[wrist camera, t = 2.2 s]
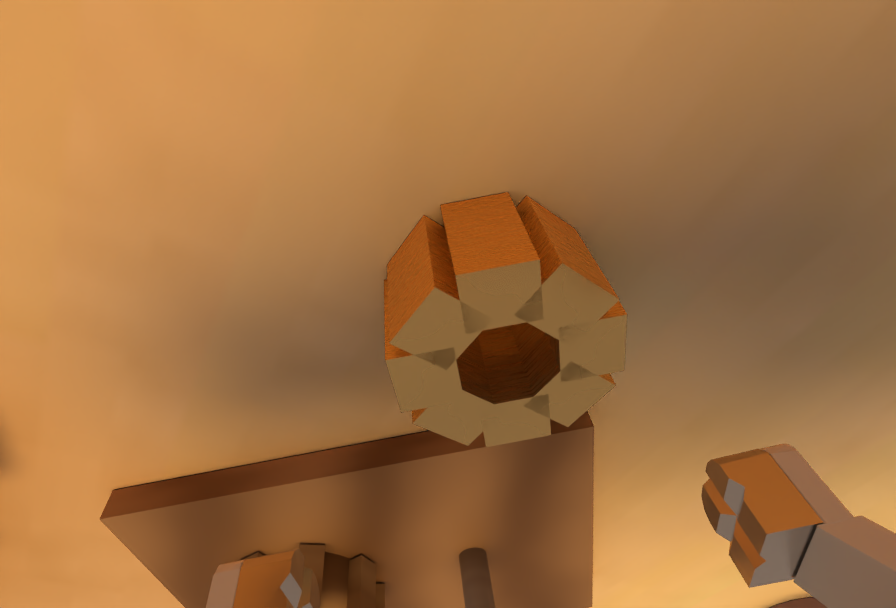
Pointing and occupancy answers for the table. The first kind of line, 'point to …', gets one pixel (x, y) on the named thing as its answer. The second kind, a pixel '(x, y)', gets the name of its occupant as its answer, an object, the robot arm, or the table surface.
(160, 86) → the table surface
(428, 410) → the brass gear
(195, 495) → the gear board
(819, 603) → the turned wooden finial
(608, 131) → the table surface
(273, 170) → the table surface
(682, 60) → the table surface
